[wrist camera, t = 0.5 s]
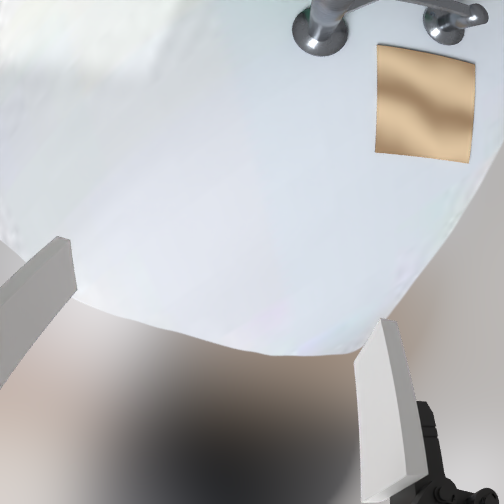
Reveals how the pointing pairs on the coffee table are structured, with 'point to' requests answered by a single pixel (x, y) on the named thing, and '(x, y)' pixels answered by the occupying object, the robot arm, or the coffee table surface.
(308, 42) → the metal wall bracket
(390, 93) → the coaster
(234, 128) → the coffee table surface
